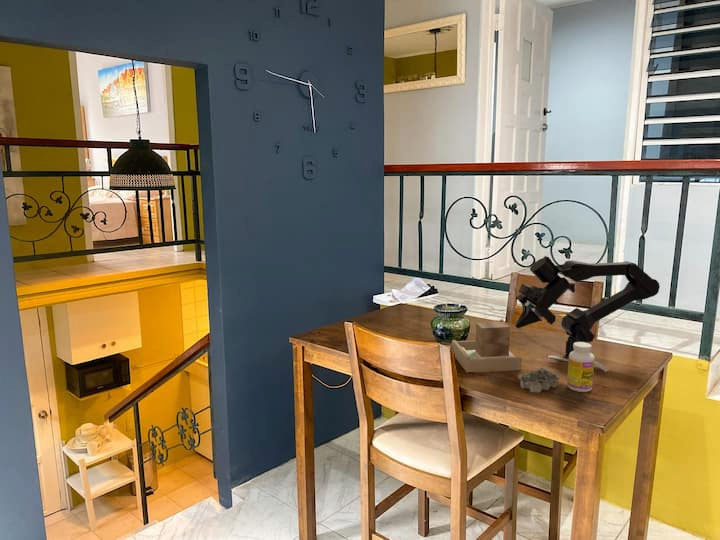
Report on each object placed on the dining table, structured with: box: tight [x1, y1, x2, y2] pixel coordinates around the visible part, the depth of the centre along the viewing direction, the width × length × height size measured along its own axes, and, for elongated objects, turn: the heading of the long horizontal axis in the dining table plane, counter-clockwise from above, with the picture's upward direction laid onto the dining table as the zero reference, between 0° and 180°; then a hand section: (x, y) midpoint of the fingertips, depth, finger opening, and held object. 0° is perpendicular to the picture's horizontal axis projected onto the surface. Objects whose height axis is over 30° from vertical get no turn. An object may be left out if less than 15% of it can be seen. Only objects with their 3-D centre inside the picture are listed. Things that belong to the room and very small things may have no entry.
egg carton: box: [517, 367, 561, 393], centre depth 155 cm, size 11×8×4 cm
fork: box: [547, 355, 610, 373], centre depth 172 cm, size 3×21×3 cm, turn 43°
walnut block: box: [475, 321, 511, 357], centre depth 175 cm, size 9×6×10 cm, turn 95°
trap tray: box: [451, 339, 522, 374], centre depth 175 cm, size 17×18×5 cm
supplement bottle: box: [566, 342, 595, 393], centre depth 152 cm, size 7×7×13 cm
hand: (516, 327), depth 175 cm, fingers closed
